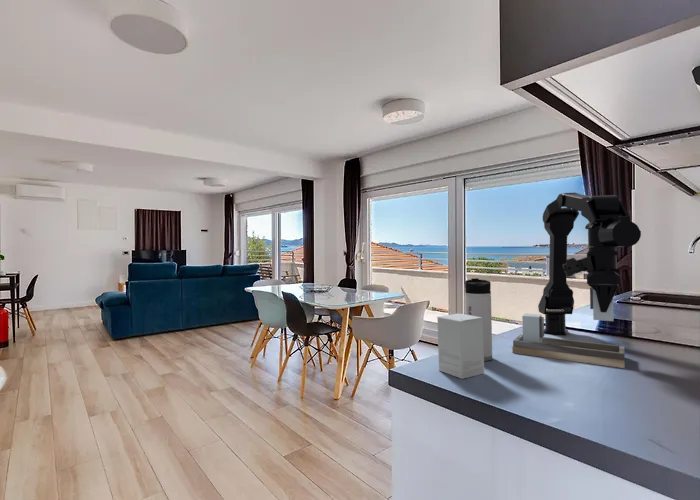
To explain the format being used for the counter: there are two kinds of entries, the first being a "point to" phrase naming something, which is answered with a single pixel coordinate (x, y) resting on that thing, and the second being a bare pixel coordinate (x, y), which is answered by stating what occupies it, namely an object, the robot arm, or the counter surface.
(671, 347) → the counter surface
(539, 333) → the block
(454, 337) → the supplement box
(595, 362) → the rail
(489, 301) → the travel mug
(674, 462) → the counter surface
